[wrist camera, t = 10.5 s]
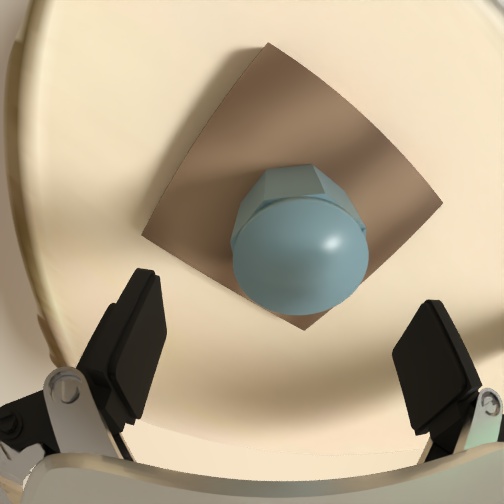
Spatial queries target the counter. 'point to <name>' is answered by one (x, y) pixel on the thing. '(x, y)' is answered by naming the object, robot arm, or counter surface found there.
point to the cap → (298, 242)
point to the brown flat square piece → (285, 155)
